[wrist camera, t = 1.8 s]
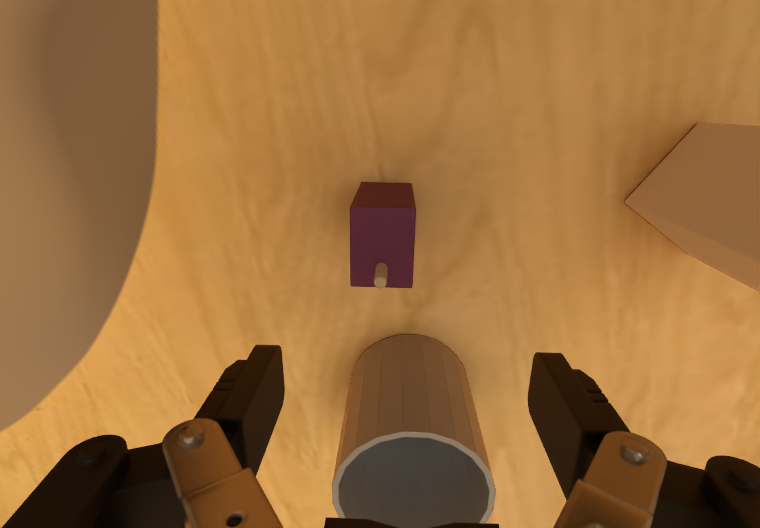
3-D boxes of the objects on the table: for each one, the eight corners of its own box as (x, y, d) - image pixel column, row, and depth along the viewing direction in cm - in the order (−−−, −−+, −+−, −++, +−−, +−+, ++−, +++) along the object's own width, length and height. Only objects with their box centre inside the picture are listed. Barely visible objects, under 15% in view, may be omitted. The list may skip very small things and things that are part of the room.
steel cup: (350, 331, 32) (330, 428, 22) (472, 336, 31) (503, 435, 22) (351, 429, 35) (333, 551, 25) (462, 434, 34) (486, 558, 25)
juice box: (361, 182, 28) (345, 217, 20) (411, 183, 28) (417, 218, 19) (360, 245, 29) (346, 303, 21) (409, 246, 29) (413, 305, 21)
